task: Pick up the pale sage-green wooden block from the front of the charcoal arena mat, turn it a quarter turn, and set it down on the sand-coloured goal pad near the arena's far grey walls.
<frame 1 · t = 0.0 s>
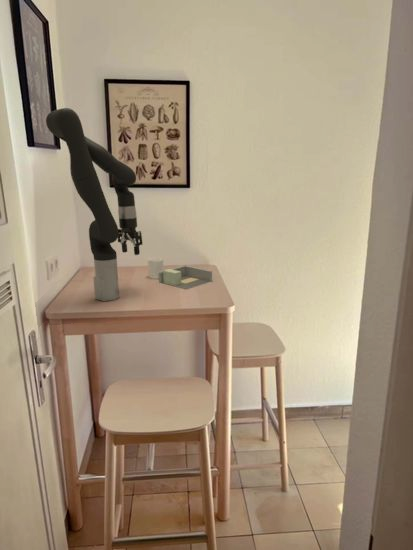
hand: (130, 253, 167), 17 cm above the table, tool pointing down, fingers open, 8 cm apart
white cup: (156, 278, 192), on the table
sage block: (172, 283, 180), point 1 cm above the table, touching arena
arena: (185, 283, 182), on the table
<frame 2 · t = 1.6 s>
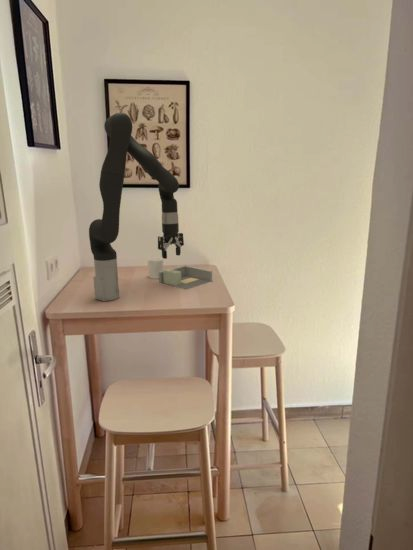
hand: (171, 256, 176), 14 cm above the table, tool pointing down, fingers open, 8 cm apart
nothing on the table moved.
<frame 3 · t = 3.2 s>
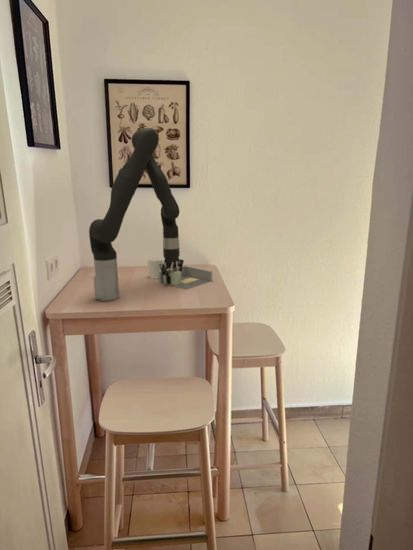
hand: (172, 282, 179), 1 cm above the table, tool pointing down, fingers closed on sage block, 4 cm apart
sage block: (172, 283, 180), point 1 cm above the table, touching arena, gripper
everything else where it was.
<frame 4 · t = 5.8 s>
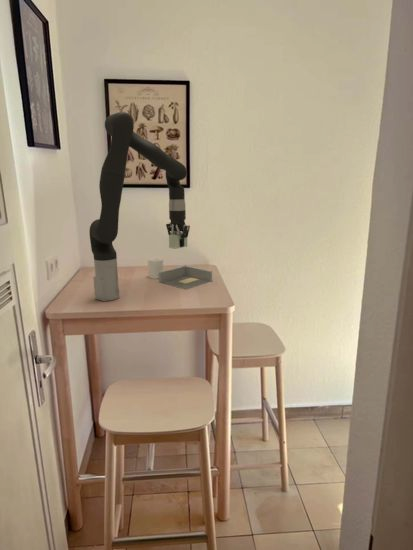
hand: (178, 246, 178), 18 cm above the table, tool pointing down, fingers closed on sage block, 4 cm apart
sage block: (178, 247, 178), point 18 cm above the table, touching gripper
everything else where it was.
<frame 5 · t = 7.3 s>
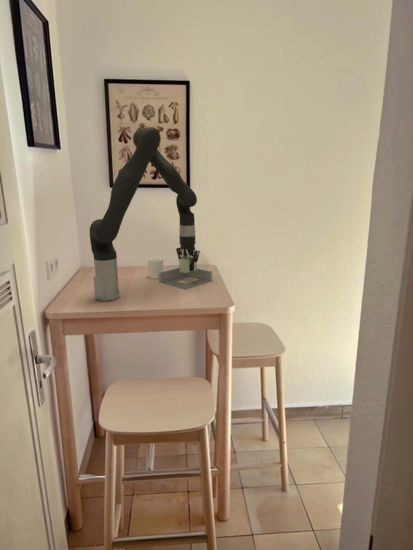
hand: (188, 269, 183), 6 cm above the table, tool pointing down, fingers closed on sage block, 4 cm apart
sage block: (188, 270, 183), point 6 cm above the table, touching gripper
everything else where it was.
when the fingers open (3 cm above the table, at t = 8.4 s): sage block drops 1 cm, resting on arena.
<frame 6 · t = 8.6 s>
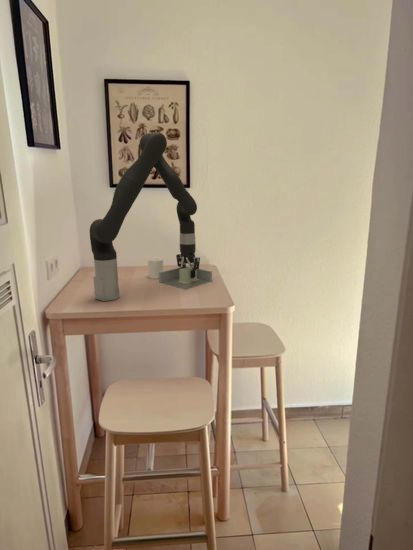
hand: (188, 276, 183), 3 cm above the table, tool pointing down, fingers open, 5 cm apart
sage block: (188, 280, 184), point 1 cm above the table, touching arena
everything else where it was.
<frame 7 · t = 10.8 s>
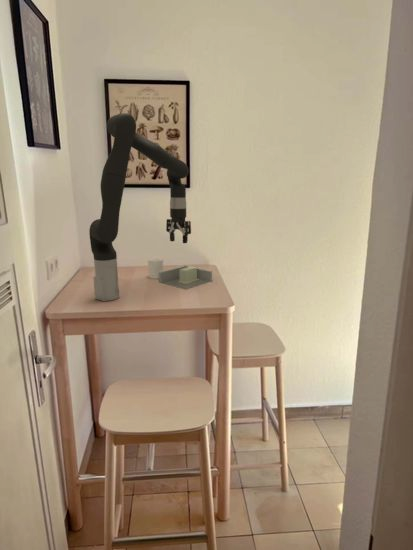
hand: (178, 242, 179), 20 cm above the table, tool pointing down, fingers open, 8 cm apart
nothing on the table moved.
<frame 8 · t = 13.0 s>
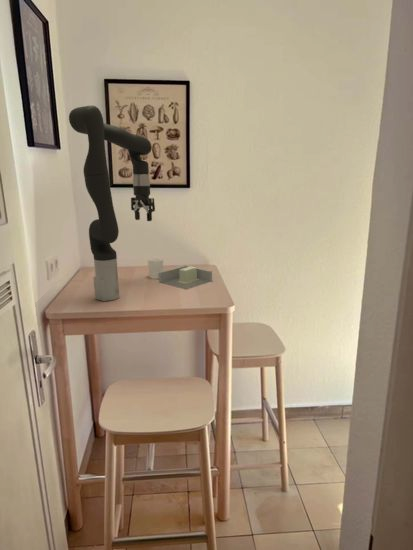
hand: (143, 220, 177), 30 cm above the table, tool pointing down, fingers open, 8 cm apart
nothing on the table moved.
at the end: sage block 0.1 cm from the target spot, point 0.9 cm above the table; sage block tilted 0°; the gripper is holding nothing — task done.
